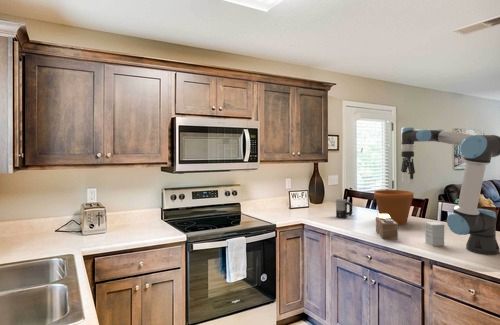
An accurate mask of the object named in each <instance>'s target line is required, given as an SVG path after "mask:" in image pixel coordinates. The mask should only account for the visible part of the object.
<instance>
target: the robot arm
mask: <svg viewBox="0 0 500 325" xmlns="http://www.w3.org/2000/svg"><path fill="white" fill-rule="evenodd" d="M400 135H401V140H400V142H401V144H400V149H401V154H400V155H401V157H402V162H401V169H400V171H401V174H402V175H401V177H402V178H401V182H402V183H407V182H408V185H414V183H415V182H414V176H415V175H414V174H416V169H415V164H414V157H415V152H414V150H415V148H416V146H415V142H416V143H417V142H423V143H424V142H435V143H436V142H437V143H443V144H448V145H452V146H459V151H460V153H461V155H462V156H463V158H462V159H463V161H464V162H465V165H464V172H463V177H462V182H461V186H460V187H461V188H460V193H459V198H458V203H457V205H456V206H454V207H453V212H452V213H450V214H449V215H448V216H447V218H446V224H447V226H448V228H449V230H450V231H451V232H452V233H454V234H456V235H459V236H461V235H463V236H467V235H469V236H468V239H467V241H466V244H465V246H466V247H465V248H466V249H465V250H468V251H469V252H473V253H477V254H482V255H497V254H500V246H499V243H498V240H497V236H496V235H497V234H496V233H497V228H496V226H497V214H496V213H497V212H495V211H493V210H490V209H484V208H478V205H479V201H480V197H481V196H480V195H481V190H482V185H483V182H484V176H485V172H486V166H487V165H489V164H491V162H492V161H491V160H492V158H496V157H499V156H500V136H499V135H496V134H495V135H494V134H470V133H469V134H468V133H462V132H458V131H457V132H455V131H448V130H444V129H441V128H440V129H438V128H437V129H427V128H421V129H415V128H414V127H413V126H412V127H411V126H410V127H402V128H401V132H400ZM407 173H408V174H407Z"/></svg>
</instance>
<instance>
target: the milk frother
mask: <svg viewBox="0 0 500 325" xmlns="http://www.w3.org/2000/svg"><path fill="white" fill-rule="evenodd" d="M348 206H349V209H348ZM335 208H336V209H335V210H336V211H335V212H336V213H335V218H338V219H346V218H348V216H352V215H353V204H352V202H350V201H347V199H343V198H341V199H335Z"/></svg>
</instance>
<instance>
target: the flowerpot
mask: <svg viewBox="0 0 500 325" xmlns="http://www.w3.org/2000/svg"><path fill="white" fill-rule="evenodd" d="M373 194H374V195H373V196H374V198H375V202H376V206H377V210H378V214H388V215H389V216H390V217H391V219H392V220H394V221H395V222H396V223H397V224H398V226H401V225H403V226H404V225H406V224H407V222H408V219H409V214H410V210H411V207H412V202H413V200H414V192H413V191H409V190H400V189H380V190H374V192H373Z"/></svg>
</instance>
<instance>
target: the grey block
mask: <svg viewBox="0 0 500 325" xmlns="http://www.w3.org/2000/svg"><path fill="white" fill-rule="evenodd" d="M384 221H385V223H393V220H391V219H390V218H384Z"/></svg>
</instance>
